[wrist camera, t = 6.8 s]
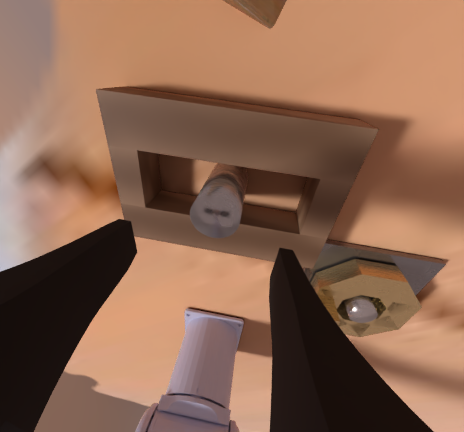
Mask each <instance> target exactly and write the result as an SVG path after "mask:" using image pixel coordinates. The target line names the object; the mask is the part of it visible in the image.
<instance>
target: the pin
mask: <svg viewBox="0 0 464 432" xmlns="http://www.w3.org/2000/svg"><path fill="white" fill-rule="evenodd" d="M247 183H248V173H247V170H246V168H245V167H241V166H234V165H228V164H222V163H218V164H217V165H216V166H215V167H214V169H213V170H212V172H211V174H210V176H209V177H208V179H207V181H206V182H205V184H204V186H203V188H202V189H201V191H200V193H199V195H198V196H197V198H196V200H195V201H194V203H193V205H192V207H191V209H190V219H191V222H192V224H193V225H194V227H195V228H196V229H197V230H198V231H199V232H201V233H202V234H204V235H206V236H209V237H212V238H224V237H228V236H230V235H232V234H233V233H234V232H235V231H236V230H237V229H238V227H239V224H240V219H241V214H242V209H243V204H244V199H245V194H246V188H247Z"/></svg>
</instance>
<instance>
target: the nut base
mask: <svg viewBox="0 0 464 432" xmlns="http://www.w3.org/2000/svg"><path fill="white" fill-rule="evenodd" d="M353 259H359V260H365V261H370V262H376V263H381V264H387V265H393V266H398V268H399V269H400V271H401V272H402V274H403V275H404V277H405V278H406V280H407V281H408V283H409V285H410V287H411V288H412V290H413V292H414V294H415V296H416V295H417V294H418V293H419V291H420V290H421V289H422V288H423V287H424V286H425V285H426V284H427V283H428V282H429V281H430V280H431V279H432V278H433V277H434V276H435V275H436V274H437V273H438V272H439V271H440V270H441V269H442V268H443V267H444V266H445V265H446V264H445V263H444V262H443V261H442V259H436V258H431V257H425V256H419V255H413V254H408V253H402V252H396V251H390V250H385V249H379V248H373V247H367V246H361V245H356V244H350V243H344V242H338V241H333V240H326V242H325V244H324V246H323V248H322V250H321V253H320V255H319V257H318V259H317V261H316V263H315V265H314V267H313V269H311V268H306V267H303V270H304V272H305V274H306V276H307V278H308V279H309V281H310V283H311V282H312V280H313V278H314V275H315V273H317V272H320V271H323V270H325V269H328V268H331V267H334V266H336V265H339V264H342V263H345V262H347V261H350V260H353ZM373 298H374V297H369V296H364V295H359V296H356V297H352V298H349V299H345V300H343V301H342V302H341V304H344V305H345V307H346V310H347V313H348V316H349V318H350V319H351V320H352V321H354V322H358V323H366V322H370V321H373V320H374V319H376V318H377V316H378V313H377V311H376V309H375V307H374V304H373V302H372V300H373Z"/></svg>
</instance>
